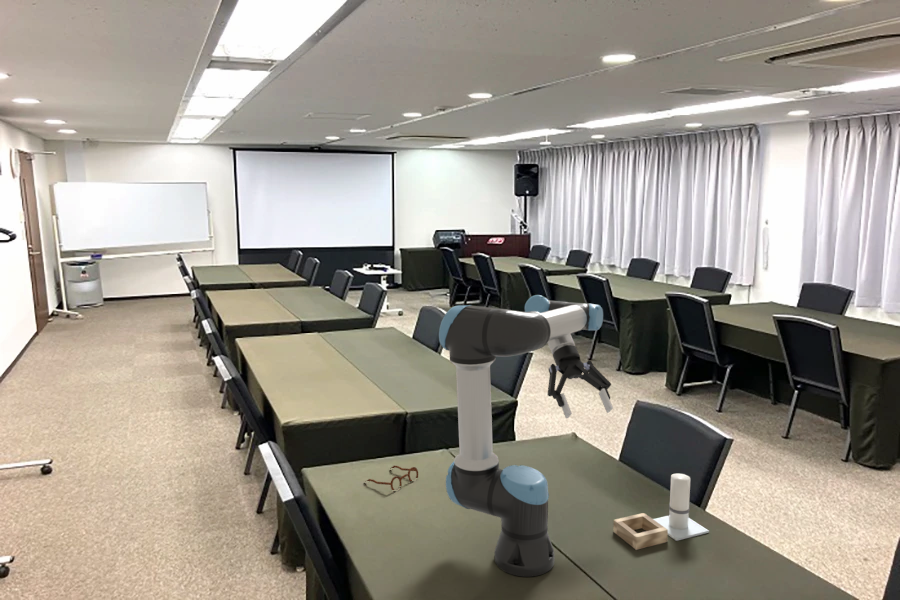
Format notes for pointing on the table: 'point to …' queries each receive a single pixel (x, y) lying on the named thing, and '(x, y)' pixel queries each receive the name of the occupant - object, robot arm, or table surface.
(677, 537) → the pad
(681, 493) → the white banded cylinder
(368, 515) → the table surface
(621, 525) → the collar
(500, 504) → the robot arm
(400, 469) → the glasses
